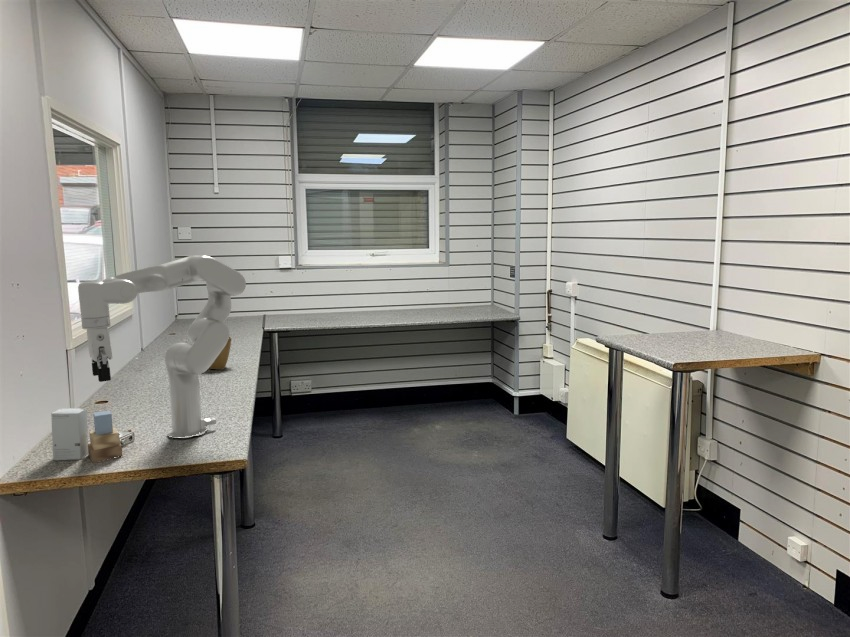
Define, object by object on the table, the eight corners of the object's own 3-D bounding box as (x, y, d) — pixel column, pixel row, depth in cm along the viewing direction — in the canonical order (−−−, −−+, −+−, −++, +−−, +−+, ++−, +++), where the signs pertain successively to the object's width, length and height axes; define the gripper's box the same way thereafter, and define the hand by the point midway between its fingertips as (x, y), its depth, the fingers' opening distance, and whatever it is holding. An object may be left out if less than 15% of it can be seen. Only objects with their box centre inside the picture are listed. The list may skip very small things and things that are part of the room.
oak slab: (115, 439, 188) (114, 427, 188) (119, 445, 183) (118, 432, 182) (90, 443, 184) (89, 431, 184) (94, 450, 179) (93, 437, 178)
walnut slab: (117, 450, 190) (116, 438, 189) (122, 457, 183) (121, 445, 183) (88, 456, 185) (87, 443, 184) (93, 463, 179) (92, 451, 178)
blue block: (111, 428, 186) (109, 410, 185) (113, 432, 182) (111, 413, 182) (94, 431, 184) (93, 412, 183) (96, 435, 180) (94, 416, 179)
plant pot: (227, 371, 298) (225, 340, 296) (197, 371, 298) (196, 340, 296) (236, 365, 313) (235, 335, 311) (208, 365, 313) (206, 335, 311)
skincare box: (53, 461, 180) (48, 413, 178) (62, 454, 186) (58, 408, 184) (82, 459, 181) (78, 412, 179) (91, 452, 187) (86, 406, 185)
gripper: (115, 324, 174) (121, 381, 176) (104, 318, 187) (109, 370, 190) (86, 327, 169) (92, 385, 172) (77, 320, 183) (83, 374, 185)
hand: (101, 377), depth 181 cm, fingers open, 9 cm apart
